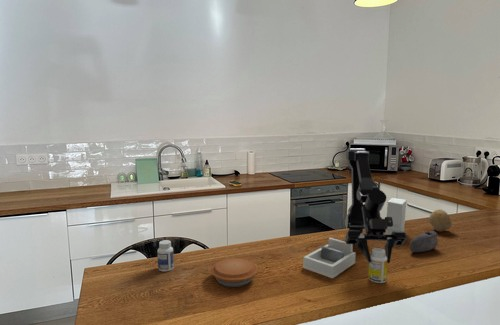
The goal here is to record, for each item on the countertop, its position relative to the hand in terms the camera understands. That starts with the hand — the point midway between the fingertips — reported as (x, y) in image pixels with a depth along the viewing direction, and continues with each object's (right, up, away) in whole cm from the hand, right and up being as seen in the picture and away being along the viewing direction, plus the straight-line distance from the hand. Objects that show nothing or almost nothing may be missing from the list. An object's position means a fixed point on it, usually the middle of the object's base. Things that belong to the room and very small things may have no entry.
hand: (379, 262), depth 112 cm
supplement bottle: (0, -6, +2) cm, 7 cm away
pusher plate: (-12, -3, +14) cm, 19 cm away
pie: (-47, -7, +4) cm, 47 cm away
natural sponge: (+45, +1, +49) cm, 66 cm away
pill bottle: (-71, -5, +11) cm, 72 cm away
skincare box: (+23, 0, +44) cm, 50 cm away
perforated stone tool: (+27, -3, +26) cm, 38 cm away
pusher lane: (-13, -5, +13) cm, 19 cm away
